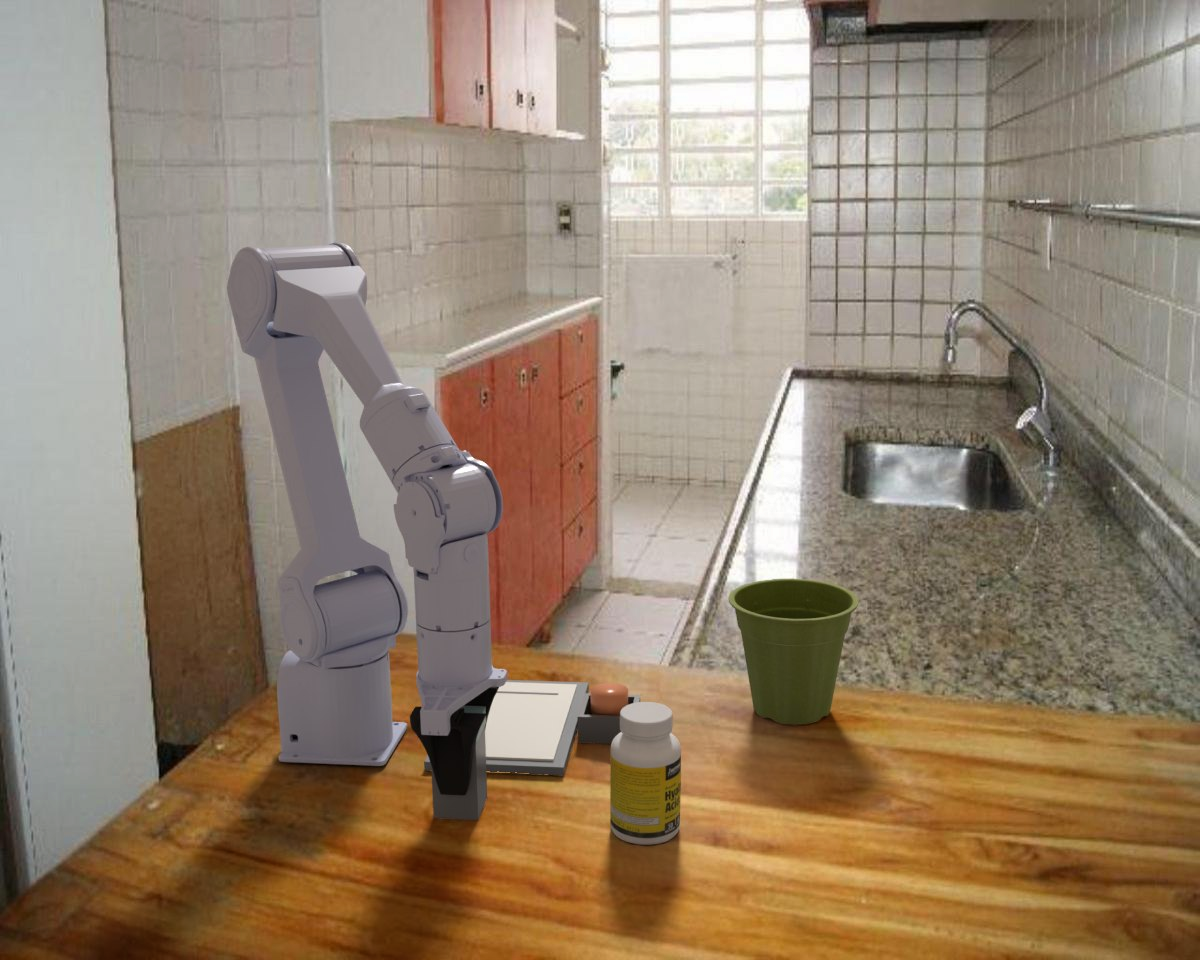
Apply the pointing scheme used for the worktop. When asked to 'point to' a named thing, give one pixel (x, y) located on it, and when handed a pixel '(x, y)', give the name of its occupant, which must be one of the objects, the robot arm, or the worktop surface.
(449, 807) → the block
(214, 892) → the worktop surface
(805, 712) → the plant pot
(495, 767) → the sketch board
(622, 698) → the button
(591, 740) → the button housing
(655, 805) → the supplement bottle
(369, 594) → the robot arm
